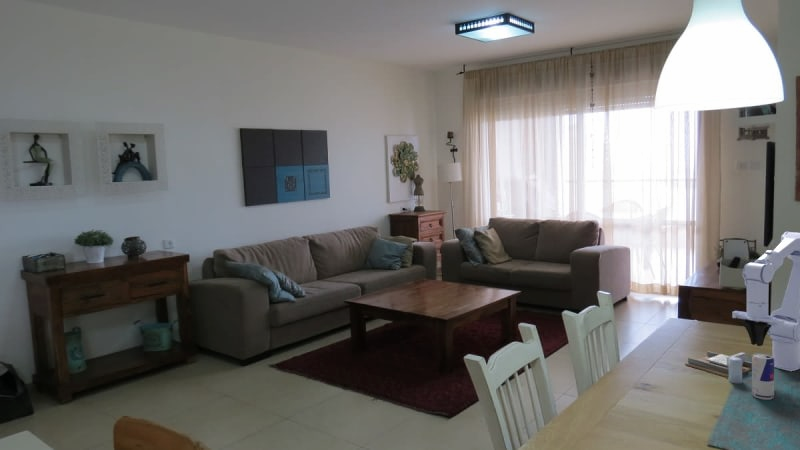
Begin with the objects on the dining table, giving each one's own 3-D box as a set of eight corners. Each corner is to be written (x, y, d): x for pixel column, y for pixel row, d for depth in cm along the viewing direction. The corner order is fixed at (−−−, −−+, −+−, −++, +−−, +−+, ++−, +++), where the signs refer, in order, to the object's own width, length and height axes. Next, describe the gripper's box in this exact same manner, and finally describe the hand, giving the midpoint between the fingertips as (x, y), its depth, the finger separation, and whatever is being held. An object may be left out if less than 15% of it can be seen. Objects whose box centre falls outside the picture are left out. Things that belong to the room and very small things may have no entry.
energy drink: (777, 400, 163) (777, 359, 162) (756, 400, 164) (756, 358, 163) (769, 393, 168) (769, 352, 167) (748, 392, 169) (749, 352, 168)
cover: (721, 355, 194) (721, 347, 194) (745, 362, 187) (745, 353, 187) (706, 360, 190) (706, 351, 190) (730, 367, 183) (730, 358, 183)
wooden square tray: (711, 356, 201) (711, 350, 201) (755, 368, 188) (755, 361, 187) (685, 365, 194) (685, 358, 194) (729, 378, 181) (729, 371, 181)
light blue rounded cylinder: (733, 378, 181) (733, 356, 180) (744, 381, 178) (744, 359, 177) (726, 380, 179) (726, 358, 178) (737, 384, 176) (737, 361, 175)
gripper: (726, 299, 182) (726, 341, 184) (774, 308, 170) (774, 353, 171) (739, 296, 186) (739, 337, 187) (788, 304, 173) (787, 348, 174)
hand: (757, 344), depth 179 cm, fingers closed
